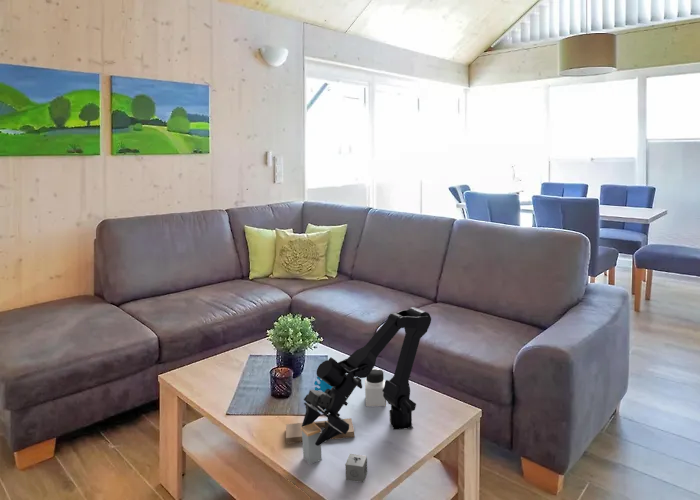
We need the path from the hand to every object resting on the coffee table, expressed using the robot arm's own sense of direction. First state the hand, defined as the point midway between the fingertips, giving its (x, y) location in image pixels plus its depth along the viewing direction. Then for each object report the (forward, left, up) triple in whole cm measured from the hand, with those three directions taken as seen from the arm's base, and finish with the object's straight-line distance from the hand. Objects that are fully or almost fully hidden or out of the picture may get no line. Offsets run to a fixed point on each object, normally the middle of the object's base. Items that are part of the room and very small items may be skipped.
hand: (308, 437), depth 155 cm
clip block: (-1, 0, -7) cm, 7 cm away
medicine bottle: (-25, -30, -7) cm, 40 cm away
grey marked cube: (-13, +10, -7) cm, 18 cm away
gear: (-9, -39, -8) cm, 40 cm away
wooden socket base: (-4, -13, -7) cm, 16 cm away
